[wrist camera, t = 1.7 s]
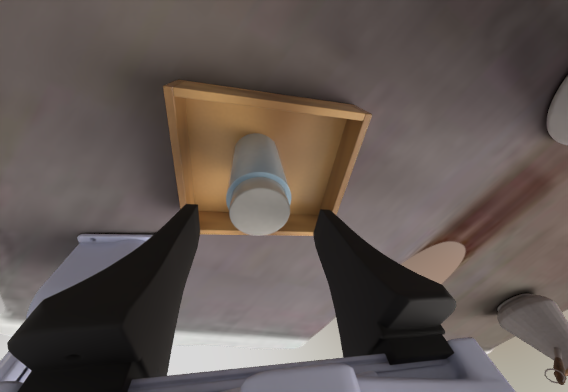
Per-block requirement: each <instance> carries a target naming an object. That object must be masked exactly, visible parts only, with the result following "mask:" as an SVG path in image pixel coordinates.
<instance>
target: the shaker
mask: <svg viewBox="0 0 568 392" xmlns="http://www.w3.org/2000/svg"><path fill="white" fill-rule="evenodd" d="M226 204H227V207H228V209H229V216H230V220H231V222H232V223H233V225H234V226H235V227H236V228H237V229H238V230H240V231H241V232H243V233H246V234H249V235H254V236H263V235H268V234H271V233H274V232H276V231H278V230H279V229H281V228H282V227H283V226H284V225H285V224H286V222H287V221H288V218H289V216H290V204H291V191H290V188H289V184H288V181H287V177H286V174H285V171H284V167H283V164H282V160H281V157H280V154H279V150H278V147H277V145H276V144H275V142H274V141H273V140H272V139H271V138H269V137H268V136H266V135H263V134H259V133H253V134H248V135H246V136H244V137H242V138H241V139H240V140H239V141H238V142H237V143H236V145H235V147H234V150H233V155H232V162H231V168H230V174H229V181H228V187H227V193H226Z"/></svg>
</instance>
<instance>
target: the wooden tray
mask: <svg viewBox="0 0 568 392" xmlns="http://www.w3.org/2000/svg"><path fill="white" fill-rule="evenodd" d="M163 90H164V97H165V104H166V112H167V119H168V126H169V133H170V140H171V147H172V154H173V161H174V168H175V175H176V182H177V190H178V197H179V204H180V209H181V208H182V207H183V206H184V205H186V204H198V211H199V223H200V234H226V235H249V234H246V233H243V232H241V231H240V230H238V229H237V228H236V227H235V226H234V225H233V223H232V222H231V220H230V216H229V209H228V207H227V204H226V193H227V187H228V181H229V174H230V168H231V162H232V155H233V150H234V147H235V145H236V143H237V142H238V141H239V140H240V139H241V138H242V137H244V136H246V135H248V134H253V133H259V134H263V135H266V136H268V137H269V138H271V139H272V140H273V141H274V142H275V144H276V145H277V147H278V150H279V154H280V157H281V160H282V164H283V167H284V171H285V174H286V177H287V181H288V184H289V188H290V191H291V204H290V216H289V218H288V221H287V222H286V224H285V225H284V226H283V227H282V228H281V229H279V230H278V231H276V232H274V233H271V234H268V235H294V236H313V232H314V229H315V226H316V222H317V219H318V216H319V212H320V209H326V210H331V211H332V212H333V213H334V214H335V215H336V214H337V212H338V209H339V206H340V203H341V200H342V198H343V195H344V192H345V189H346V186H347V184H348V181H349V178H350V175H351V172H352V170H353V167H354V164H355V161H356V159H357V156H358V153H359V150H360V147H361V145H362V142H363V139H364V136H365V133H366V131H367V128H368V125H369V122H370V120H371V117H372V114H371V113H369V112H367V111H365V110H363V109H361V108H359V107H357V106H355V105H352V104H345V103H338V102H331V101H324V100H317V99H310V98H303V97H296V96H289V95H282V94H275V93H268V92H261V91H254V90H248V89H241V88H234V87H227V86H220V85H213V84H206V83H199V82H192V81H185V80H176V81H173V82H171V83H169V84H166V85H164V86H163Z"/></svg>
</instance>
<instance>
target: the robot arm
mask: <svg viewBox="0 0 568 392" xmlns="http://www.w3.org/2000/svg"><path fill="white" fill-rule="evenodd" d="M199 236H200V223H199V211H198V204H186V205H184V206H183V207H182V208H181V209H180V211H179V212H178V213H177V214H176V215H175V216H174V217H173V218H172V219H171V220H170V221H168V222H167V223H166V224H165V225H164V226H163V227H162V228H161V229H160V230H159V231H158V232H156V233H155V234H154V235H131V234H80V235H79V236H78V237H77V239H78V241H79V244H78V245H77V246H76V248H75V249H74V250H73V251H72V252H71V253H70V254H69V256H68V257H67V258H66V259H65V260H64V261H63V262H62V264H61V265H60V266H59V267H58V268H57V269H56V270H55V271H54V273H53V274H52V275H51V276H50V277H49V278H48V279H47V281H46V282H45V283H44V284H43V285H42V286H41V287H40V289H39V290H38V291H37V293H36V295H35V296H34V298H33V300H32V302H31V304H30V306H29V309H28V312H27V316H26V320H25V322H24V323H23V324H22V325H21V327H20V328H19V329H18V330H17V331H16V333H15V334H14V335H13V336H12V338H11V339H10V340H9V342H8V350H9V351H8V353H7V354H6V355H5V356H4V357H3V359H2V360H1V361H0V392H515V390H514V389H513V388H512V386H511V385H510V384H509V383H508V381H507V380H506V379H505V378H504V376H503V375H502V374H501V372H500V371H499V370H498V368H497V367H496V366H495V365H494V363H493V362H492V361H491V360H490V358H489V357H488V356H487V354H486V353H485V352H484V350H483V349H482V348H481V347H480V345H479V344H478V343H477V341H476V340H475V339H474V338H472V337H468V338H457V339H451V340H449V341H446V340H445V338H444V337H443V335H442V334H444V333H445V330H444V329H443V328H442V326H441V325H440V324H441V323H442V322H443V321H444V320H445V319H447V318H448V317H449V316H450V315H451V314H452V313H453V311H454V310H455V308H456V301H455V300H454V299H453V297H452V296H451V295H450V294H449V293H448V291H447V290H446V289H445V288H444V286H443V285H441V284H439V283H437V282H434V281H432V280H430V279H428V278H426V277H423V276H421V275H419V274H417V273H415V272H413V271H411V270H409V269H407V268H405V267H404V266H402V265H400V264H398V263H397V262H395V261H393V260H392V259H390V258H388V257H387V256H385V255H384V254H382V253H381V252H379V251H378V250H377V249H375V248H374V247H372V246H371V245H370V244H368V243H367V242H366V241H365V240H363V239H362V238H361V237H360V236H358V235H357V234H356V233H355V232H354V231H353V230H351V229H350V228H349V227H348V226H347V225H346V224H345V223H344V222H343V221H342V220H341V219H340V218H338V217H337V216H336V215H335V214H334V213H333V212H332V211H331V210H326V209H320V212H319V216H318V219H317V222H316V226H315V229H314V232H313V236H314V241H315V246H316V249H317V252H318V255H319V258H320V261H321V264H322V267H323V269H324V272H325V275H326V278H327V281H328V284H329V287H330V291H331V295H332V300H333V304H334V308H335V313H336V318H337V323H338V328H339V333H340V339H341V345H342V350H343V358H336V359H326V360H317V361H307V362H297V363H288V364H278V365H268V366H259V367H249V368H239V369H229V370H219V371H210V372H200V373H190V374H182V375H171V376H167V372H168V366H169V360H170V354H171V349H172V344H173V338H174V333H175V328H176V323H177V318H178V313H179V308H180V304H181V299H182V295H183V291H184V287H185V283H186V280H187V277H188V274H189V271H190V268H191V265H192V262H193V259H194V256H195V253H196V250H197V246H198V241H199Z"/></svg>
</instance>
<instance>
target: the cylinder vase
mask: <svg viewBox="0 0 568 392" xmlns="http://www.w3.org/2000/svg"><path fill="white" fill-rule="evenodd" d="M547 130H548V132H549V134H550V136H551V137H552V138H553V139H554V140H555V141H557V142H559V143H561V144H564V145H568V75H567V77H566V78H565V79H564V81H563V82H562V84H561V85H560V87H559V89H558V90H557V92H556V94H555V96H554V98H553V100H552V102H551V105H550V107H549V110H548V114H547Z"/></svg>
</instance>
